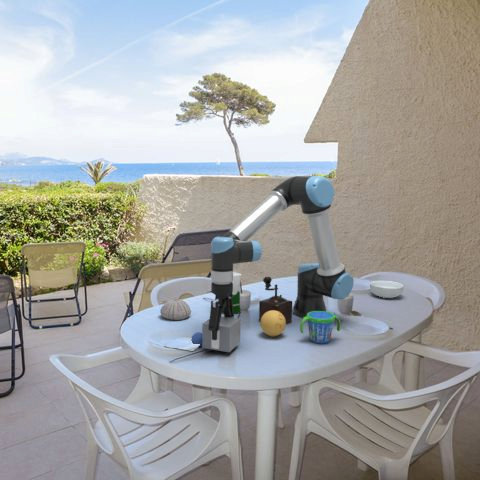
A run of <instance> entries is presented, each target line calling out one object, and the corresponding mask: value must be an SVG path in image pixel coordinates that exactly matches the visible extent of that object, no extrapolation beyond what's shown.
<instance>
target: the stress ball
mask: <svg viewBox="0 0 480 480" xmlns="http://www.w3.org/2000/svg"><path fill="white" fill-rule="evenodd" d="M285 320H286V319H285V317H284V316H283V315H282V314H281V312H279V311H275V310H271V311H268V312H266V313H265V314H264V315H263V316H262V318H261V322H259V323H260V328H261V330H262V332H264V334H265V335H267V336H269V337H272V338H274V337H277V336H279V335H281V334H282V333H283V332H284V331H285V329H286V327H287V324H286V321H285Z"/></svg>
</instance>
